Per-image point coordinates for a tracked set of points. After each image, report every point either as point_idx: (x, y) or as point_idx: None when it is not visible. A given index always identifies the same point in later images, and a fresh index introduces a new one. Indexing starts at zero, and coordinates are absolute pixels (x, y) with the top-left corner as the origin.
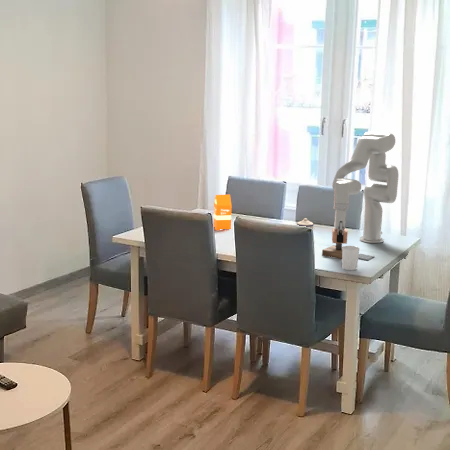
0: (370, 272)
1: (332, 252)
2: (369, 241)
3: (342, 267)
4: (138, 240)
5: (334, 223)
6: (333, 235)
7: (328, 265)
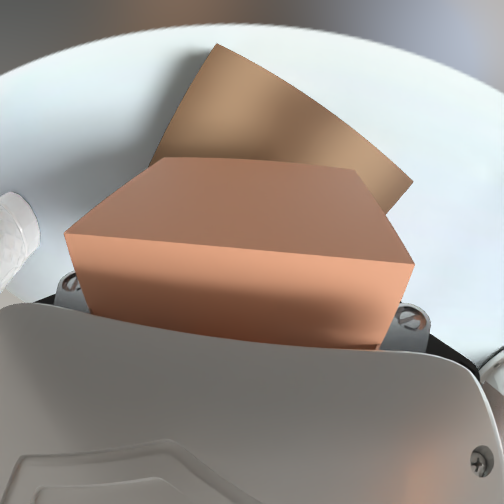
0: (19, 289)
1: (163, 137)
2: (485, 369)
3: (7, 192)
4: None
5: (247, 448)
6: (110, 202)
7: (18, 119)
